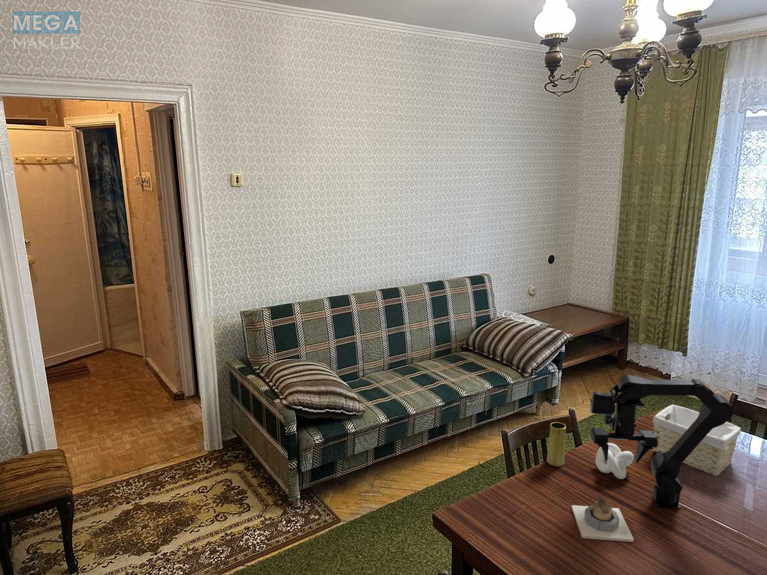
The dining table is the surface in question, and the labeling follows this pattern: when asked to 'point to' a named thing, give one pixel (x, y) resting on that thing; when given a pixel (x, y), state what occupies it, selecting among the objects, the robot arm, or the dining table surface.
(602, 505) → the rotary grip knob
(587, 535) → the socket board
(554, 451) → the vase
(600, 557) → the dining table surface
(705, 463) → the storage basket
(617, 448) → the white curved piece
